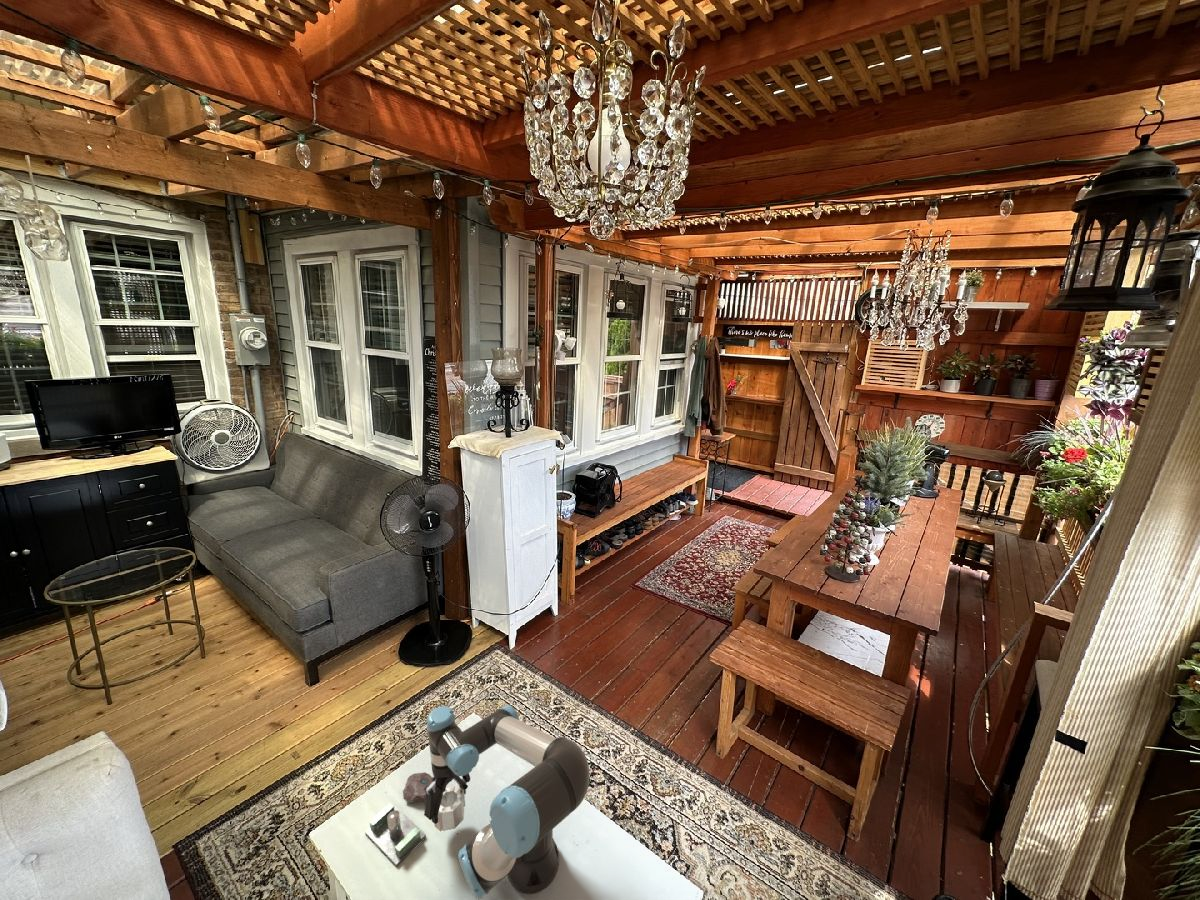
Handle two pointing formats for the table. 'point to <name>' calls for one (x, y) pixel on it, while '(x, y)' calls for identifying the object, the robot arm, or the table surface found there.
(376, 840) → the stand
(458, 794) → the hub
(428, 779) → the rock
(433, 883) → the table surface
